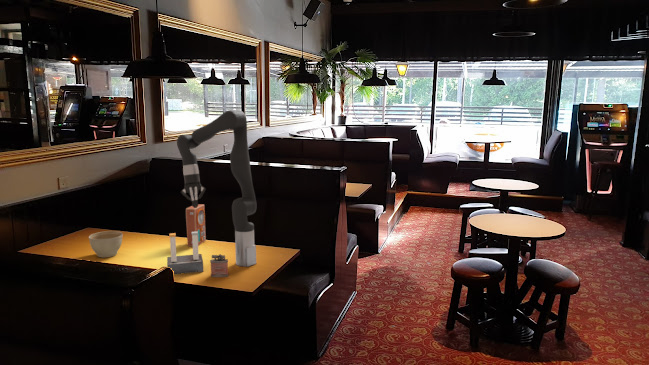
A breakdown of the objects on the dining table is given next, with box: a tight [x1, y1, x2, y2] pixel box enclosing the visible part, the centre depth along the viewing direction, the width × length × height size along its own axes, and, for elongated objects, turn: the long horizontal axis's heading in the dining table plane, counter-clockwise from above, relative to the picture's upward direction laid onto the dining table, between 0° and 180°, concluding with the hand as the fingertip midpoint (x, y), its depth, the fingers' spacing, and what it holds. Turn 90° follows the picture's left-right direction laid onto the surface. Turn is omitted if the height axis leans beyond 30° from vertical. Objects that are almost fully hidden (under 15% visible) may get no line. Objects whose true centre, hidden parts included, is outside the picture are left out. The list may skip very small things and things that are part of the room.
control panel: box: [185, 203, 207, 247], centre depth 271 cm, size 21×7×15 cm
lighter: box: [209, 254, 230, 278], centre depth 221 cm, size 8×3×10 cm, turn 92°
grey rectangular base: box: [166, 253, 204, 275], centre depth 230 cm, size 12×16×5 cm
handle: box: [192, 231, 200, 260], centre depth 227 cm, size 3×3×13 cm
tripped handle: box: [168, 232, 177, 262], centre depth 224 cm, size 3×3×13 cm
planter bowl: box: [88, 230, 124, 258], centre depth 251 cm, size 16×16×11 cm
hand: (195, 207), depth 244 cm, fingers closed
